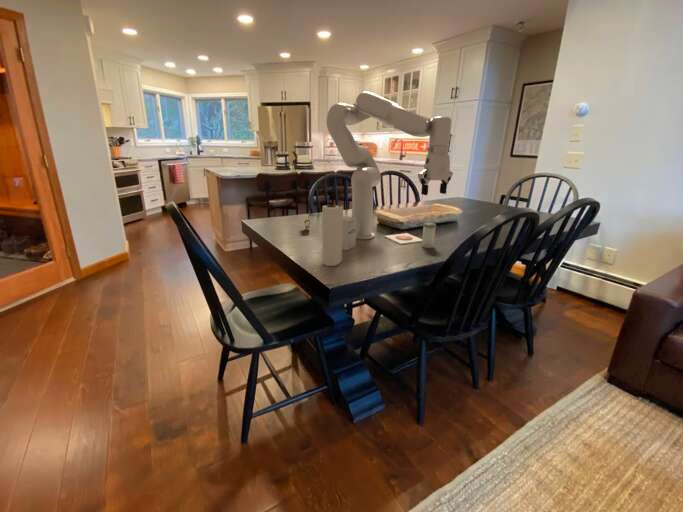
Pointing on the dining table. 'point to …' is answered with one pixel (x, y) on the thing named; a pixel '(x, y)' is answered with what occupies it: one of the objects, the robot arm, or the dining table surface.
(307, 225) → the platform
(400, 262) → the dining table surface
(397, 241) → the card
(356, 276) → the dining table surface
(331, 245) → the paper towel roll
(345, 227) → the white bottle
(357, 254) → the dining table surface
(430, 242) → the tube
